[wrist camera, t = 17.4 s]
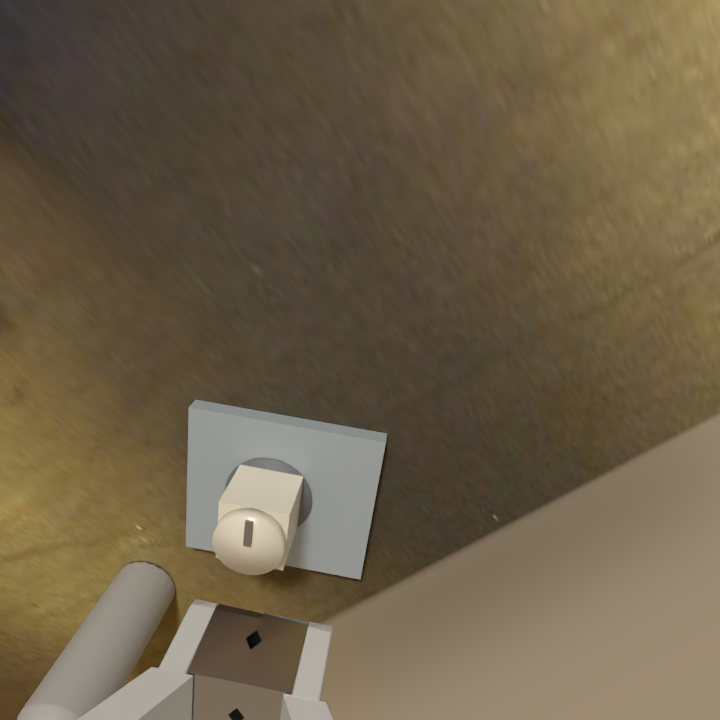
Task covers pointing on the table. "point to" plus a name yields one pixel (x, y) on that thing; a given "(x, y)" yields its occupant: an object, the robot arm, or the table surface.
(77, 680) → the bottle
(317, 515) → the panel
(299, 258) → the table surface
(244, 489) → the knob
